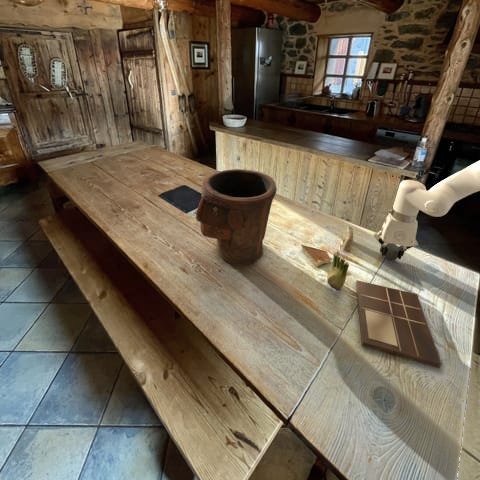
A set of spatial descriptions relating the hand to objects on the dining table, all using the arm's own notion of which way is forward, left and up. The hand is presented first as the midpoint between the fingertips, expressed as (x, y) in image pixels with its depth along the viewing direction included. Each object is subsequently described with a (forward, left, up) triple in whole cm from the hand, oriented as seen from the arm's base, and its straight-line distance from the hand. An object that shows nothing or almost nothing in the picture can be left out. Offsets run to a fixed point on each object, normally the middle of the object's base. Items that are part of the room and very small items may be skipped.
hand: (390, 254), depth 100 cm
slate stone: (0, 0, 0) cm, 0 cm away
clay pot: (+57, +15, -2) cm, 59 cm away
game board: (+4, +28, -2) cm, 28 cm away
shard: (+27, +9, -2) cm, 29 cm away
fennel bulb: (+20, +20, -2) cm, 28 cm away
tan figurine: (+16, -2, -2) cm, 16 cm away
